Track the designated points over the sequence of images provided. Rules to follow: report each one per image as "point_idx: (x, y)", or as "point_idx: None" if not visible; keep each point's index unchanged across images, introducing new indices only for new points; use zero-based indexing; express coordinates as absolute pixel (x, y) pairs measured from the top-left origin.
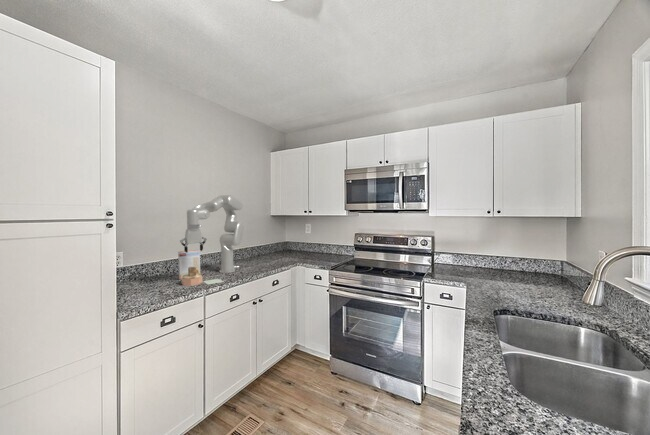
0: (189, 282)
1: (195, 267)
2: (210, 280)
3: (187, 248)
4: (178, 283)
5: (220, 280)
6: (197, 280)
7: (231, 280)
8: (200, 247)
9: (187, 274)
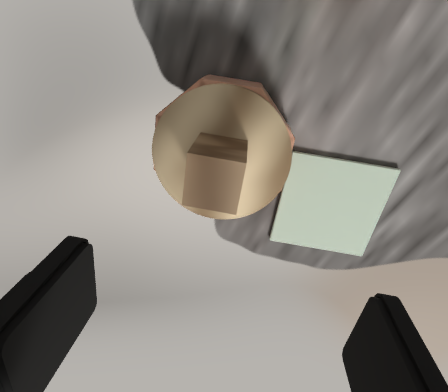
0: None
1: (235, 206)
2: (335, 173)
3: (50, 377)
4: (165, 44)
5: (370, 221)
6: None
7: (417, 249)
8: (381, 389)
9: (207, 94)
